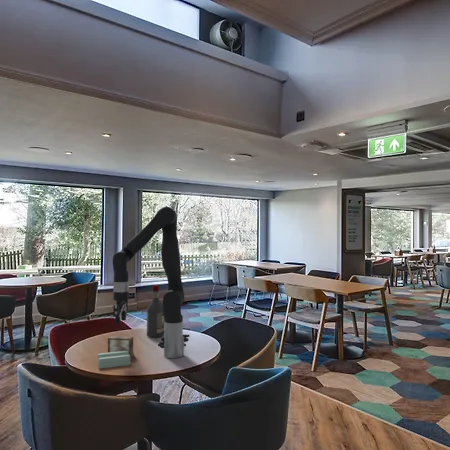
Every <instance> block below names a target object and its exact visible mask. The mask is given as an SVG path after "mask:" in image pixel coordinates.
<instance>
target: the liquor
mask: <svg viewBox="0 0 450 450" xmlns="http://www.w3.org/2000/svg"><path fill="white" fill-rule="evenodd" d="M159 294H160V286H159V284H154V285H152V301H151V303H150V304H149V305H148V307H146V336H147V337H148V338H154V339H155V338H156V339H157V338H162V337H164V316H163V303H162V302H160V295H159Z"/></svg>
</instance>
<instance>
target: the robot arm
mask: <svg viewBox="0 0 450 450" xmlns="http://www.w3.org/2000/svg"><path fill="white" fill-rule="evenodd" d="M177 217H178V216H177V212H176V211H175V209H174V208H172V207H170V206H163V207H161V208H160V209H158V211H157V212H156V214H155V215H154V216H153V217H152V219H151V220H150V221H149V222H148V223H147V224H146V226H145V227H143V228H142V229H141V230H140V231H139V232H138V233H137V234H136V235H134V236H133V237H132V238H131V239H130V240H129V241H128V242H127V244H126V246H124V247H123V248H122V249H121V250H120V251H116V252H115V253H114V254H113V256H112V267H113V285H112V286H113V289H112V290H113V291H112V292H113V295H112V296H113V301H116V303H114V304H113V312H112V314H113V315H112V316H113V317H114V319H115V321H114V324H115V326H117V325H120V324H121V321H127V312H128V311H129V302H128V301H129V295H130V294H129V293H130V292H129V291H130V287H129V271H128V270H127V264H128V262H130V261H131V260H132V259H133V258H134V257H135V256H136V254H137V253H139V252H140V251H141V250H142V249H143V248H144V247H146V245H147V244H148V243H149V242H150V241H151V239H153V237H154V236H155V235H156V234H157V233H158V232H159V231H160V230H161V231H162V239H161V251H160V254H161V255H160V256H161V263H162V267H163V269H164V272H165V275H166V279H167V289H168V290H167V291H166V292H165V293H164V294H163V297H162V305H163V316H164V335H163V337H164V341H163V342H164V348H163V354H164V355H163V356H164V357H165V358H168V359H178V358H181V357H184V356H185V355H184V354H185V353H184V352H185V347H184V343H185V342H184V337H183V334H184V331H183V329H184V326H183V324H184V323H183V322H184V316H183V315H182V309H181V305H182V304H183V303H184V301H185V291H184V287H183V281H182V269H181V268H182V267H181V253H180V246H179V240H178V233H177V222H178V221H177Z"/></svg>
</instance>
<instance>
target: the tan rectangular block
mask: <svg viewBox="0 0 450 450" xmlns="http://www.w3.org/2000/svg"><path fill="white" fill-rule="evenodd" d="M118 351H129V355H130V358H131V357H132V356H133V355H134V336H117V335H115V336H114V335H110V336H109V337H107V353H109V352H118Z"/></svg>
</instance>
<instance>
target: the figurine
mask: <svg viewBox="0 0 450 450" xmlns="http://www.w3.org/2000/svg"><path fill="white" fill-rule="evenodd" d="M183 337H184V346H185V347H186V345H187V343H186V342H188V341H189V337H190V334H184V333H183ZM160 340H161V342H159V343H158V344H157V346H158V347H159V346H160V347H159V348H161V349H164V336H162V337H161V338H160Z"/></svg>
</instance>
